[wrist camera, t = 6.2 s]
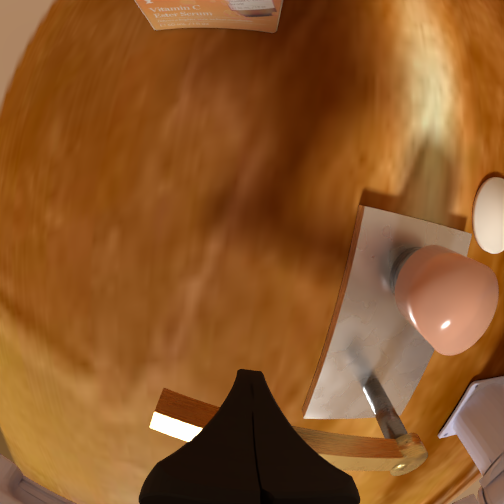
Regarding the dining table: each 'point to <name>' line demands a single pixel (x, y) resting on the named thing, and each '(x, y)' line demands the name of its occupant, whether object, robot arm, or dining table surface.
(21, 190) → the dining table surface
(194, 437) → the robot arm
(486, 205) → the coaster
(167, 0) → the small box
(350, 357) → the plate
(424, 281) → the cap
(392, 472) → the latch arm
